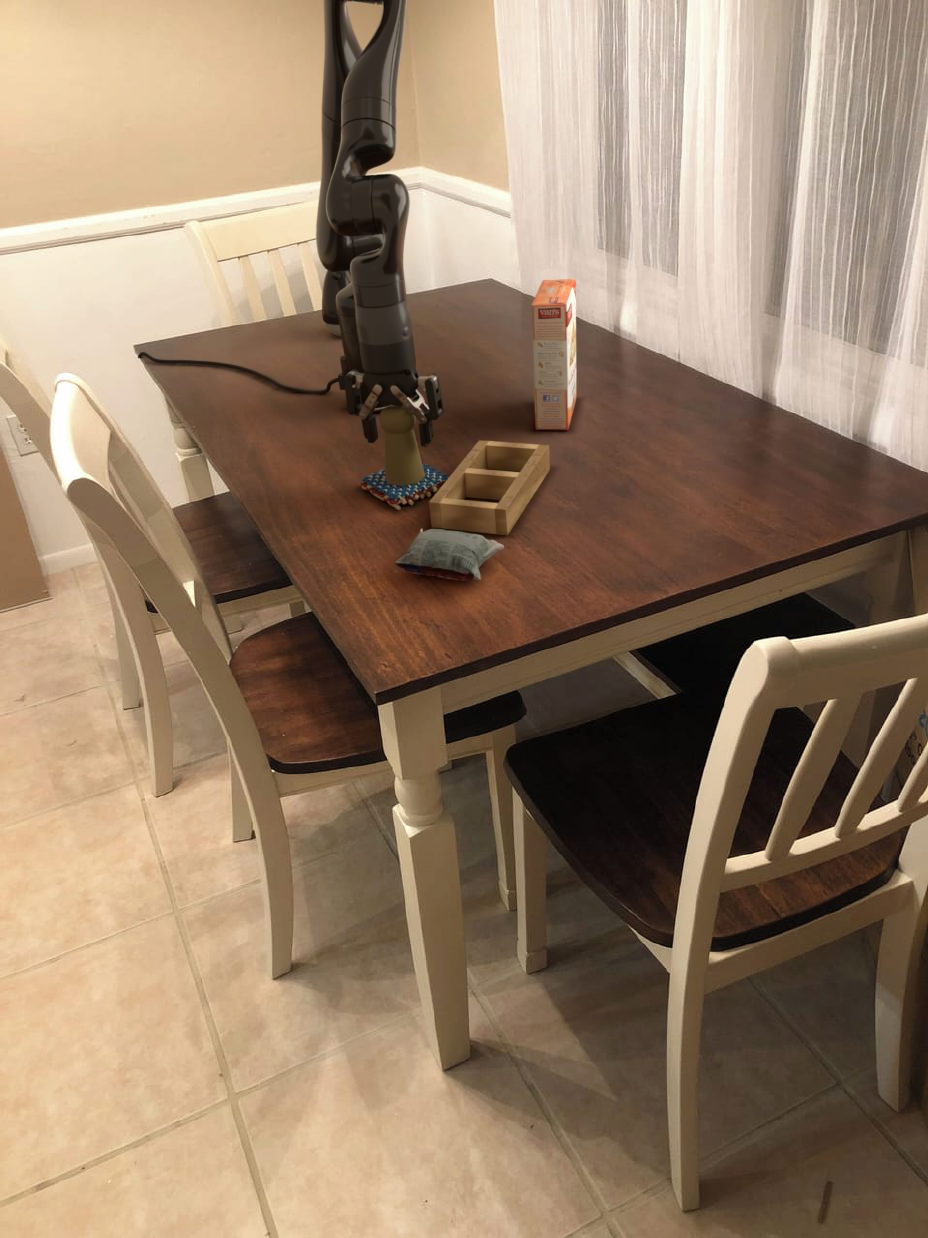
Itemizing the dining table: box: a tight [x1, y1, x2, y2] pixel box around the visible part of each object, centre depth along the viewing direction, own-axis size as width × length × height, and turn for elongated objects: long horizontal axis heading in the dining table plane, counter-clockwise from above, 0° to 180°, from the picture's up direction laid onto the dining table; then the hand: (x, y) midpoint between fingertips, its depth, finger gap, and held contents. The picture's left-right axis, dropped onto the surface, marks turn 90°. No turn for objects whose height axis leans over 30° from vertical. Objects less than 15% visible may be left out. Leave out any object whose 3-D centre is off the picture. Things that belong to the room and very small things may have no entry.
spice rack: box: [428, 439, 551, 536], centre depth 138 cm, size 11×21×4 cm, turn 159°
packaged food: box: [394, 528, 505, 582], centre depth 122 cm, size 9×12×5 cm
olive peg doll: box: [379, 405, 425, 486], centre depth 140 cm, size 6×6×11 cm
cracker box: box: [531, 278, 577, 431], centre depth 156 cm, size 14×6×21 cm, turn 168°
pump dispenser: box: [321, 269, 352, 338], centre depth 205 cm, size 10×10×15 cm
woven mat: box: [360, 460, 450, 511], centre depth 143 cm, size 10×11×2 cm
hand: (399, 442), depth 140 cm, fingers open, 8 cm apart
